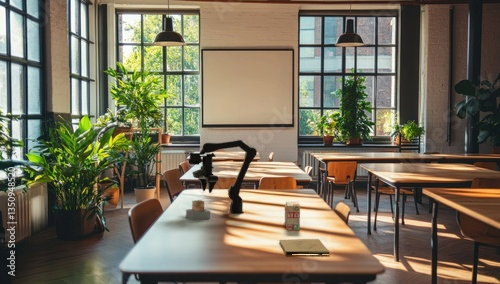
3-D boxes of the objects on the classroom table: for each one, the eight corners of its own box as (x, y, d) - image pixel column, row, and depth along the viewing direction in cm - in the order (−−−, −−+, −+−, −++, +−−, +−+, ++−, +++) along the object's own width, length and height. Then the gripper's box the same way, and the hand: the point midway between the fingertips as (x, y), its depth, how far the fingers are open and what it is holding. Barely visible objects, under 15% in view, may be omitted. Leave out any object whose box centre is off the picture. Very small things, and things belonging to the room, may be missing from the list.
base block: (203, 215, 276) (203, 208, 276) (210, 218, 267) (210, 211, 267) (186, 216, 271) (186, 209, 271) (192, 220, 263) (192, 212, 262)
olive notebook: (279, 243, 215) (279, 238, 215) (319, 243, 216) (319, 238, 216) (285, 257, 194) (285, 251, 194) (329, 257, 195) (329, 251, 195)
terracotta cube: (200, 209, 273) (200, 200, 272) (204, 210, 268) (204, 201, 268) (192, 209, 270) (192, 200, 270) (195, 211, 266) (195, 202, 266)
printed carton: (284, 221, 262) (284, 198, 262) (296, 222, 262) (296, 198, 262) (286, 230, 241) (287, 205, 240) (299, 230, 241) (300, 205, 240)
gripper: (188, 163, 288) (187, 190, 289) (200, 166, 272) (199, 194, 272) (206, 163, 293) (205, 189, 294) (218, 165, 277) (218, 193, 277)
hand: (206, 191), depth 284 cm, fingers open, 9 cm apart
